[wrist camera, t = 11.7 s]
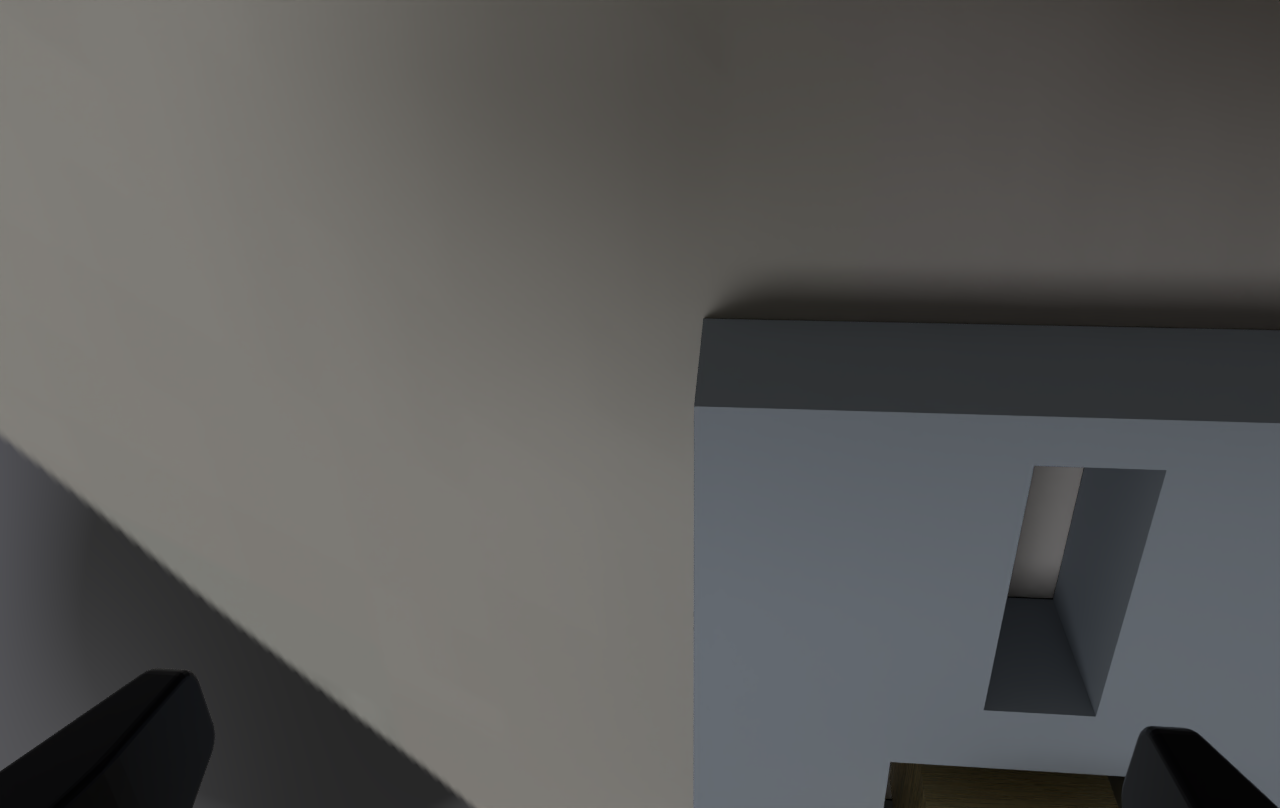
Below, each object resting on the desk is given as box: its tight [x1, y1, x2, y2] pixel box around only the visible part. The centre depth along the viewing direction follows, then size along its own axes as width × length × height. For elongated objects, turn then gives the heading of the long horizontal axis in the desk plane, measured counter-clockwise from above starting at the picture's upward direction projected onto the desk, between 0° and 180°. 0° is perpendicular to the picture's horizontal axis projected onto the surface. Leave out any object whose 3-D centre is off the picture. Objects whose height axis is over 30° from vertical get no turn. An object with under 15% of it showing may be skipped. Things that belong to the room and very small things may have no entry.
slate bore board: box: [694, 319, 1280, 808], centre depth 23 cm, size 14×16×4 cm
